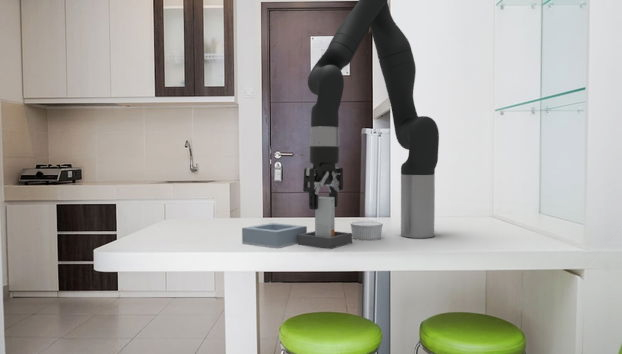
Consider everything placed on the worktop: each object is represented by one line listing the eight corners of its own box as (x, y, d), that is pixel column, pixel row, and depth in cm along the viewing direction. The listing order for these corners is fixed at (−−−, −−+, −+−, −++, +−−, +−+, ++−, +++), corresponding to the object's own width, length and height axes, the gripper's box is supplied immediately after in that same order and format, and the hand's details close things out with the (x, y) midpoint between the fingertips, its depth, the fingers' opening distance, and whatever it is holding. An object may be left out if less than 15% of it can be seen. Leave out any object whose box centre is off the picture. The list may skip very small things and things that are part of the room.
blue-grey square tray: (272, 237, 142) (272, 222, 142) (306, 241, 135) (306, 226, 135) (242, 243, 133) (242, 228, 133) (277, 248, 126) (276, 232, 125)
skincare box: (331, 246, 128) (331, 198, 128) (314, 245, 129) (314, 198, 128) (335, 241, 134) (334, 196, 133) (319, 241, 135) (318, 196, 134)
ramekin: (389, 238, 139) (389, 223, 139) (364, 242, 134) (364, 225, 134) (368, 234, 146) (368, 219, 146) (343, 237, 141) (343, 222, 141)
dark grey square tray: (320, 239, 138) (320, 229, 138) (351, 242, 132) (351, 233, 132) (297, 244, 131) (297, 234, 130) (329, 248, 124) (329, 238, 124)
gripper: (319, 144, 122) (319, 211, 123) (351, 145, 134) (351, 207, 134) (295, 144, 127) (294, 209, 128) (328, 145, 138) (327, 205, 139)
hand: (323, 208), depth 131 cm, fingers open, 8 cm apart
